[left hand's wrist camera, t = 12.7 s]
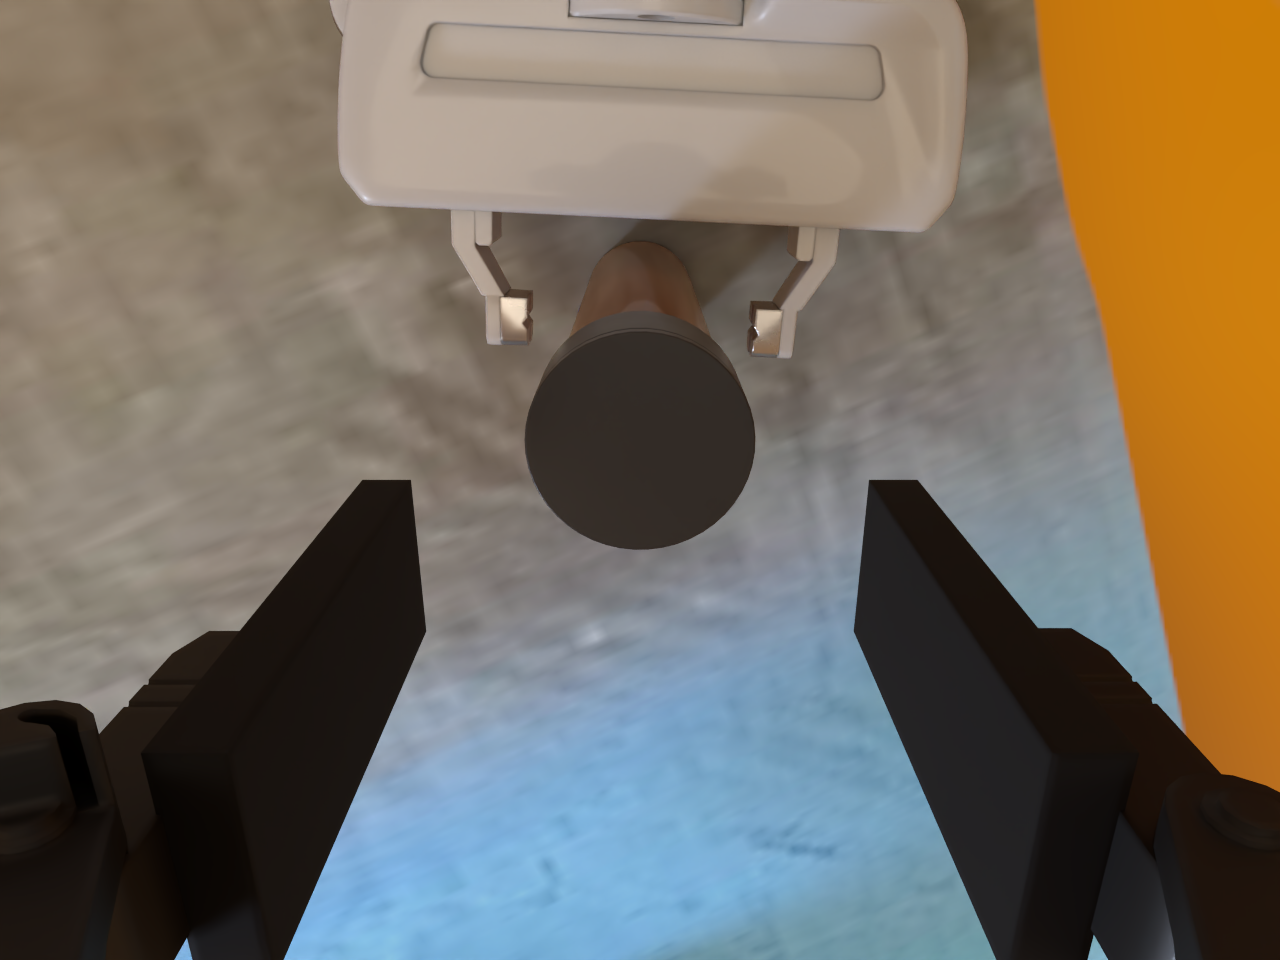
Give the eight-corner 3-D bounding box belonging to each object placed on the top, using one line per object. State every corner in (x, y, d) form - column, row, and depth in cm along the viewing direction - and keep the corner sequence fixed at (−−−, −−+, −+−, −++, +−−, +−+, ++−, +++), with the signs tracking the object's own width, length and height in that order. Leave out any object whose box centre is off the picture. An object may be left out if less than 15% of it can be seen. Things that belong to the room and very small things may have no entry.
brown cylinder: (654, 219, 37) (667, 299, 19) (711, 308, 38) (778, 464, 20) (567, 280, 38) (499, 414, 19) (626, 365, 39) (615, 564, 21)
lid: (668, 267, 20) (672, 283, 18) (781, 439, 22) (798, 474, 20) (494, 387, 21) (477, 417, 19) (614, 543, 23) (612, 588, 21)
